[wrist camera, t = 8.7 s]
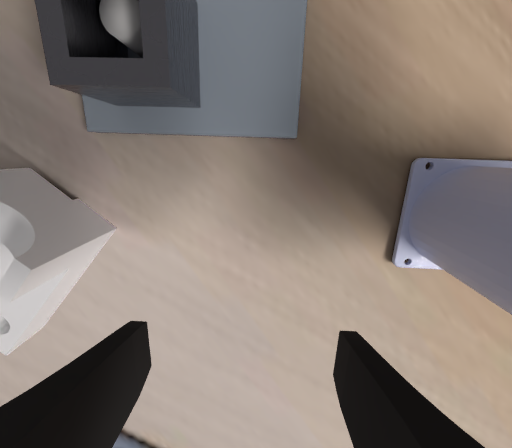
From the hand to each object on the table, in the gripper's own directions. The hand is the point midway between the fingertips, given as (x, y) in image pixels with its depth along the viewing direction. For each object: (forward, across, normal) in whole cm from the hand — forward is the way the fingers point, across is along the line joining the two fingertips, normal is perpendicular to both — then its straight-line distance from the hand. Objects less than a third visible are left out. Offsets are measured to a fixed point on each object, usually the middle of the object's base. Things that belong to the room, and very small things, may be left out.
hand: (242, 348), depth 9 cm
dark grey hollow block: (+10, +6, -12) cm, 17 cm away
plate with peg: (+10, +4, -13) cm, 17 cm away
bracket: (+11, +18, +2) cm, 21 cm away
